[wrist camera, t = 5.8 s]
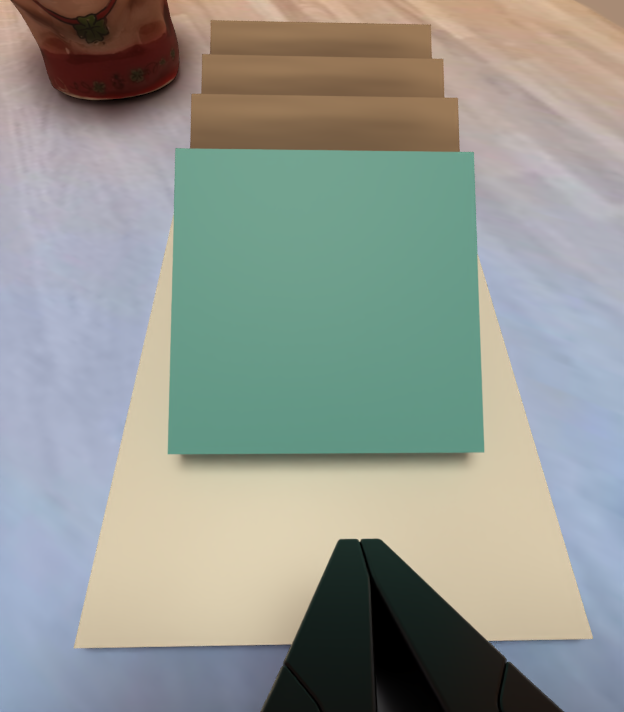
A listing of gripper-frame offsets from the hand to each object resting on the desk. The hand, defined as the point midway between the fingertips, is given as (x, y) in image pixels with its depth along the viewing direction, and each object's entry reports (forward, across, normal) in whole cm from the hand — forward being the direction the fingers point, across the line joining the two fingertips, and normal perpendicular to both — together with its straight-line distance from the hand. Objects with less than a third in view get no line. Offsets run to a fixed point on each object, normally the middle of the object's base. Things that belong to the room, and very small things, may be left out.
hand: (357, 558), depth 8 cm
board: (+12, 0, -2) cm, 13 cm away
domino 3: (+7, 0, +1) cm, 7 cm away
